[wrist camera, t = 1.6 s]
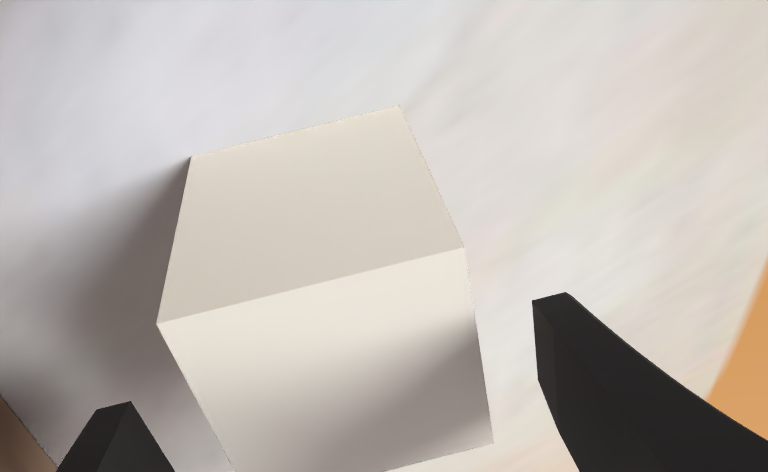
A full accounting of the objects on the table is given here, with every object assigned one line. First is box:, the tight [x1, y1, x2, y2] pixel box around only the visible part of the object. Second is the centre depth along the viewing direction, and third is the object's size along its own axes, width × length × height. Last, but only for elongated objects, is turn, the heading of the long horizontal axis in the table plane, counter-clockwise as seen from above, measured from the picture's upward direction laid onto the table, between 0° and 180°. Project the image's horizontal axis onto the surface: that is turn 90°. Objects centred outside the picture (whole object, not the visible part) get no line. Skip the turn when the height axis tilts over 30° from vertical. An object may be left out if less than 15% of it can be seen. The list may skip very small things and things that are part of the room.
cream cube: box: [156, 105, 494, 472], centre depth 14 cm, size 5×5×6 cm
